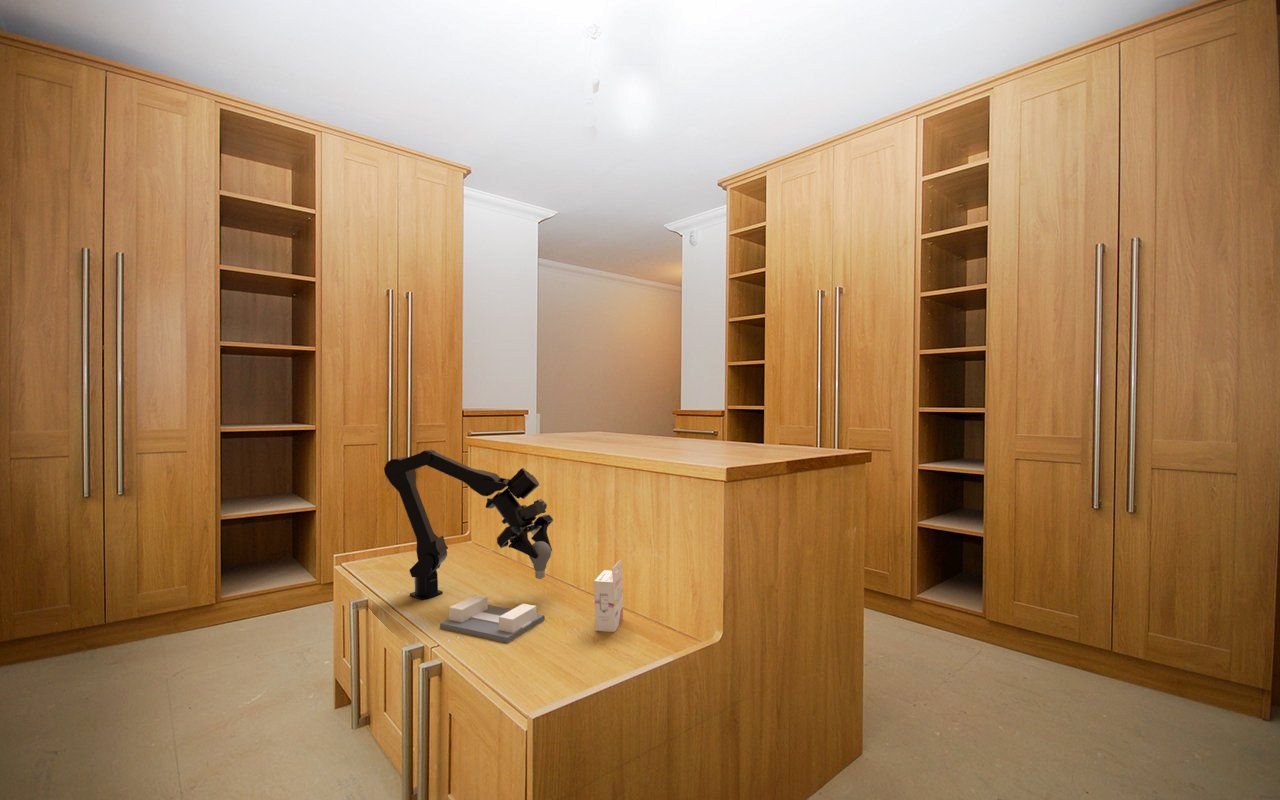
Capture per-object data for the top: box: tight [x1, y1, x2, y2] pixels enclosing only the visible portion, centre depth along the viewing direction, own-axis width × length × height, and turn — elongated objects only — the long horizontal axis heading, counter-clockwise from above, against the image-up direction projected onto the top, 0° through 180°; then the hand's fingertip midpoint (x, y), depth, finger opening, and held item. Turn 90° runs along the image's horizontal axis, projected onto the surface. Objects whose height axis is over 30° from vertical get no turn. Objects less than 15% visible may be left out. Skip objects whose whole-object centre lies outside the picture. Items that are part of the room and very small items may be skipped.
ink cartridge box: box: [593, 558, 624, 633], centre depth 131 cm, size 9×5×15 cm, turn 168°
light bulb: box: [528, 541, 552, 580], centre depth 149 cm, size 6×6×10 cm
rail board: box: [439, 594, 546, 644], centre depth 133 cm, size 20×14×4 cm
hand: (544, 554), depth 148 cm, fingers closed on light bulb, 6 cm apart
